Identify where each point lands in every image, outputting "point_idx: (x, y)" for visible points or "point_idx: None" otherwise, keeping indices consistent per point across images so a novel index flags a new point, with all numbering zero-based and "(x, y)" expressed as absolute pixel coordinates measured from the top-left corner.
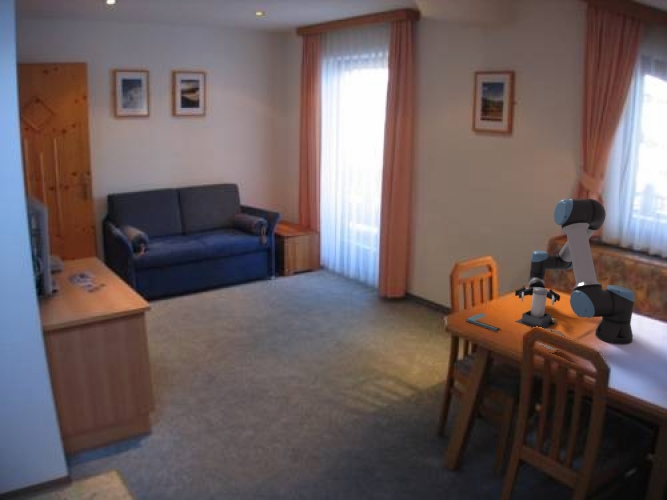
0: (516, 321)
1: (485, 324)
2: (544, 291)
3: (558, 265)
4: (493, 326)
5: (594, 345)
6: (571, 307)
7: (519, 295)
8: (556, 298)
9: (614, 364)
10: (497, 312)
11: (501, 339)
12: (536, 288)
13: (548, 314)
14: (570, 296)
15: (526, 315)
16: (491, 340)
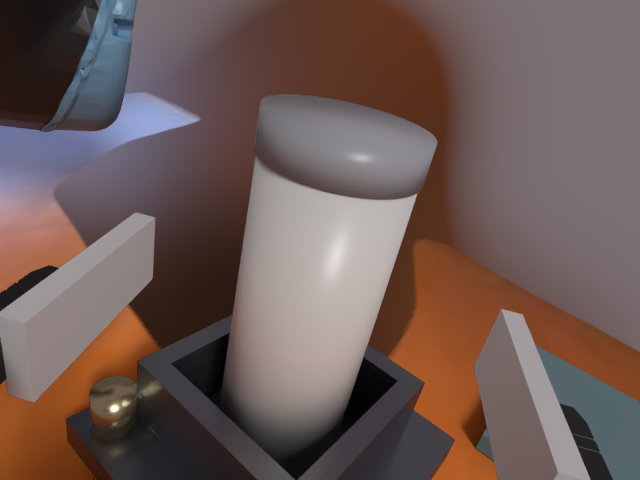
0: (442, 442)
1: (622, 399)
2: (313, 96)
3: None
4: (565, 373)
5: (46, 220)
6: (121, 102)
7: (572, 420)
8: (14, 284)
9: (104, 150)
10: None
11: (480, 290)
12: (396, 136)
13: (174, 367)
14: (134, 14)
15: (389, 363)
16: (516, 287)
